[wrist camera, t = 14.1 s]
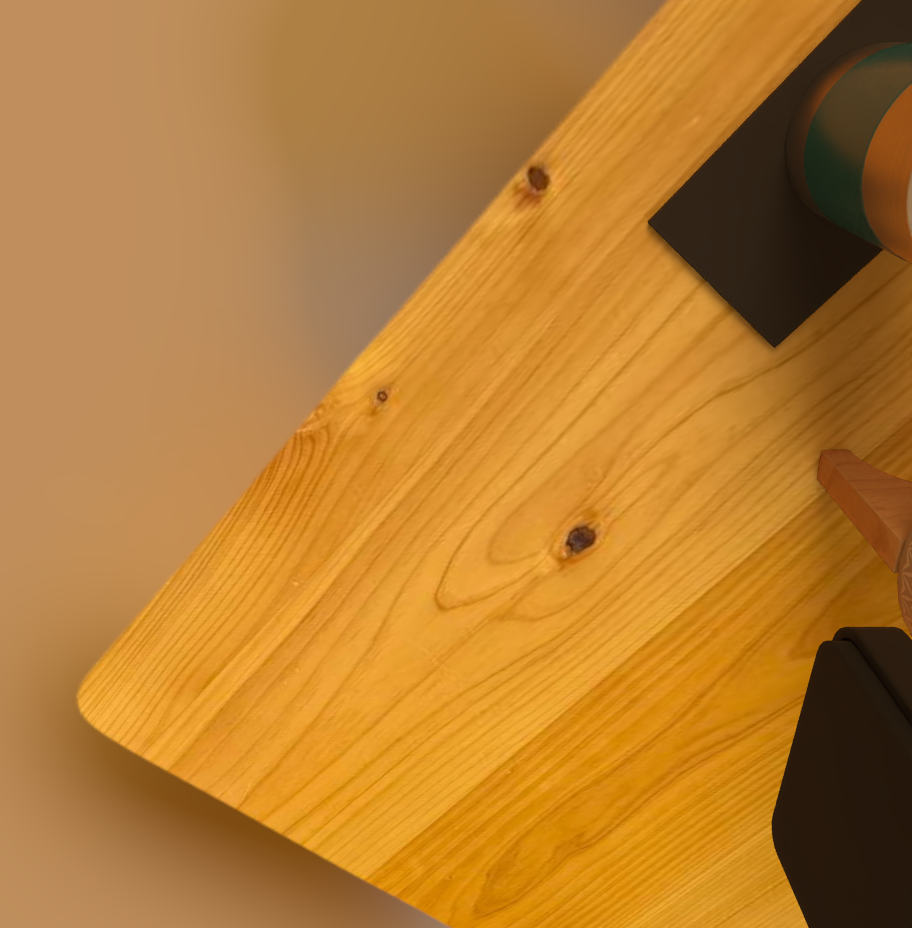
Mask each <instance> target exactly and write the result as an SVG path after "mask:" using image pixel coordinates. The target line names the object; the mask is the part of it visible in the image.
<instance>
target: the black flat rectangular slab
mask: <svg viewBox="0 0 912 928" xmlns="http://www.w3.org/2000/svg"><path fill="white" fill-rule="evenodd" d="M883 42H903V43H912V0H862V1H861V2H860V3H859V4H858V5H857V6H856V7H855V8H854V9H853V10H852V11H851V12H850V13H849V14H848V15H847V16H846V17H845V18H844V19H843V20H842V21H841V22H840V23H839V24H838V25H837V26H836V27H835V28H834V30H833V31H832V32H831V33H830V34H829V35H828V36H827V37H826V38H825V39H824V40H823V41H822V42H821V43H820V44H819V45H818V46H817V47H816V48H815V49H814V50H813V51H812V52H811V53H810V54H809V55H808V56H807V57H806V59H805V60H804V61H803V62H802V63H801V64H800V65H799V66H798V67H797V68H796V69H795V70H794V71H793V72H792V73H791V74H790V75H789V76H788V77H787V78H786V79H785V80H784V81H783V82H782V83H781V84H780V85H779V86H778V88H777V89H776V90H775V91H774V92H773V93H772V94H771V95H770V96H769V97H768V98H767V99H766V100H765V101H764V102H763V103H762V104H761V105H760V106H759V107H758V108H757V109H756V110H755V111H754V112H753V113H752V114H751V115H750V116H749V118H748V119H747V120H746V121H745V122H744V123H743V124H742V125H741V126H740V127H739V128H738V129H737V130H736V131H735V132H734V133H733V134H732V135H731V136H730V137H729V138H728V139H727V140H726V141H725V142H724V143H723V144H722V145H721V147H720V148H719V149H718V150H717V151H716V152H715V153H714V154H713V155H712V156H711V157H710V158H709V159H708V160H707V161H706V162H705V163H704V164H703V165H702V166H701V167H700V168H699V169H698V170H697V171H696V172H695V173H694V174H693V175H692V177H691V178H690V179H689V180H688V181H687V182H686V183H685V184H684V185H683V186H682V187H681V188H680V189H679V190H678V191H677V192H676V193H675V194H674V195H673V196H672V197H671V198H670V199H669V200H668V201H667V202H666V203H665V204H664V206H663V207H662V208H661V209H660V210H659V211H658V212H657V213H656V214H655V215H654V216H653V217H652V218H651V219H650V220H649V221H648V223H649V224H650V225H651V226H652V227H653V228H654V229H655V230H656V231H657V232H658V233H659V234H660V235H661V236H662V237H663V238H664V239H665V240H666V241H667V242H668V243H669V244H670V245H671V246H672V247H673V248H674V249H675V250H676V251H677V252H678V253H679V254H680V255H681V256H682V257H683V258H684V259H685V260H686V261H687V262H688V263H689V264H690V265H691V266H692V267H693V268H694V269H695V270H696V271H697V272H698V273H699V274H700V275H701V276H702V277H703V278H704V279H705V280H706V281H707V282H708V283H709V284H710V285H711V286H712V287H713V288H714V289H715V290H716V291H717V292H718V293H719V294H720V295H721V296H722V297H723V298H724V299H725V300H726V301H727V302H728V303H729V304H730V305H731V306H732V307H733V308H734V309H735V310H736V311H737V312H738V313H739V314H740V315H742V316H743V317H744V318H745V319H746V320H747V321H748V322H749V323H750V324H751V325H752V326H753V327H754V328H755V329H756V330H757V331H758V332H759V333H760V334H761V335H762V336H763V337H764V338H765V339H766V340H767V341H768V342H769V343H770V344H771V345H772V346H773V347H774V348H775V347H776V346H778V345H779V344H780V343H781V342H782V341H783V340H784V339H785V338H786V337H787V336H789V335H790V334H791V333H792V332H793V331H794V330H795V329H796V328H797V327H798V326H800V325H801V324H802V323H803V322H804V321H805V320H806V319H807V318H808V317H809V316H811V315H812V314H813V313H814V312H815V311H816V310H817V309H818V308H819V307H820V306H821V305H823V304H824V303H825V302H826V301H827V300H828V299H829V298H830V297H831V296H832V295H834V294H835V293H836V292H837V291H838V290H839V289H840V288H841V287H842V286H843V285H845V284H846V283H847V282H848V281H849V280H850V279H851V278H852V277H853V276H854V275H856V274H857V273H858V272H859V271H860V270H861V269H862V268H863V267H864V266H865V265H867V264H868V263H869V262H870V261H871V260H872V259H873V258H874V257H875V256H876V255H878V254H879V253H880V252H881V251H882V250H883V249H881V248H880V247H878V246H876V245H874V244H872V243H870V242H868V241H866V240H864V239H862V238H860V237H858V236H856V235H854V234H853V233H851V232H849V231H847V230H845V229H843V228H841V227H839V226H838V225H836V224H835V223H833V222H831V221H829V220H827V219H825V218H823V217H822V216H820V215H818V214H817V213H815V212H813V211H812V210H811V209H810V208H809V207H807V206H806V205H805V204H804V202H803V201H802V200H801V199H800V198H799V196H798V195H797V193H796V191H795V190H794V188H793V186H792V183H791V181H790V178H789V174H788V171H787V165H786V140H787V133H788V130H789V126H790V122H791V119H792V117H793V114H794V111H795V109H796V107H797V105H798V103H799V101H800V99H801V98H802V96H803V95H804V93H805V92H806V90H807V89H808V87H809V86H810V85H811V84H812V82H813V81H814V80H815V79H816V78H817V77H818V76H819V75H820V74H821V73H822V72H823V71H824V70H825V69H826V68H827V67H828V66H830V65H831V64H832V63H834V62H835V61H836V60H838V59H839V58H841V57H843V56H844V55H846V54H848V53H850V52H852V51H854V50H856V49H859V48H862V47H865V46H868V45H871V44H877V43H883Z"/></svg>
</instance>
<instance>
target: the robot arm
mask: <svg viewBox="0 0 912 928" xmlns="http://www.w3.org/2000/svg"><path fill="white" fill-rule="evenodd" d="M772 836H773V842H774V846H775V850H776V852H777V855H778V857H779V860H780V862H781V864H782V867H783V869H784V871H785V874H786V876H787V878H788V881H789V883H790V885H791V888H792V890H793V892H794V895H795V897H796V899H797V901H798V904H799V906H800V908H801V911H802V913H803V915H804V918H805V920H806V922H807V925H808V927H809V928H912V640H911V639H910V637H909V636H908V635H907V634H906V633H905V632H904V631H903V630H901V629H899V628H896V627H844V628H840V629H839V630H838V631H837V632H836V633H835V635H834V638H833V640H832V641H825V642H823V643H822V644H821V645H820V646H819V649H818V651H817V654H816V658H815V662H814V665H813V669H812V673H811V676H810V680H809V684H808V687H807V691H806V695H805V698H804V702H803V706H802V709H801V713H800V717H799V720H798V724H797V728H796V732H795V735H794V739H793V743H792V746H791V750H790V754H789V757H788V761H787V765H786V768H785V772H784V776H783V779H782V783H781V787H780V791H779V794H778V798H777V802H776V805H775V809H774V813H773V817H772Z"/></svg>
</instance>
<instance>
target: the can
mask: <svg viewBox="0 0 912 928" xmlns="http://www.w3.org/2000/svg"><path fill="white" fill-rule="evenodd" d="M786 165H787V171H788V174H789V178H790V181H791V183H792V186H793V188H794V190H795V191H796V193H797V195H798V196H799V198H800V199H801V200H802V201H803V202H804V204H805V205H806V206H807V207H809V208H810V209H811V210H812V211H813V212H815V213H817V214H818V215H820V216H822V217H823V218H825V219H827V220H829V221H831V222H833V223H835V224H836V225H838V226H839V227H841V228H843V229H845V230H847V231H849V232H851V233H853V234H854V235H856V236H858V237H860V238H862V239H864V240H866V241H868V242H870V243H872V244H874V245H876V246H878V247H880V248H881V249H883V250H885V251H887V252H889V253H891V254H893V255H895V256H897V257H899V258H901V259H903V260H905V261H908V262H910V263H912V43H903V42H883V43H877V44H871V45H868V46H865V47H862V48H859V49H856V50H854V51H852V52H850V53H848V54H846V55H844V56H843V57H841V58H839V59H838V60H836V61H835V62H834V63H832V64H831V65H830V66H828V67H827V68H826V69H825V70H824V71H823V72H822V73H821V74H820V75H819V76H818V77H817V78H816V79H815V80H814V81H813V82H812V84H811V85H810V86H809V87H808V89H807V90H806V92H805V93H804V95H803V96H802V98H801V99H800V101H799V103H798V105H797V107H796V109H795V111H794V114H793V117H792V119H791V122H790V126H789V130H788V133H787V140H786Z"/></svg>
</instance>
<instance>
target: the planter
mask: <svg viewBox="0 0 912 928" xmlns="http://www.w3.org/2000/svg"><path fill="white" fill-rule="evenodd" d="M817 480H818V481H819V482H820V484H821V485H822V486H823V487H824V488H825V490H826V491H827V492H828V493H829V495H830V496H831V497H832V498H833V499H834V501H835V502H836V503H837V504H838V505H839V507H840V508H841V509H842V510H843V512H844V513H845V514H846V515H847V516H848V518H849V519H850V520H851V521H852V523H853V524H854V525H855V526H856V527H857V529H858V530H859V531H860V532H861V534H862V535H863V536H864V537H865V538H866V540H867V541H868V542H869V543H870V544H871V546H872V547H873V548H874V549H875V551H876V552H877V553H878V554H879V555H880V557H881V558H882V559H883V560H884V562H885V563H886V564H887V565H888V566H889V568H890V569H891V570H892V571H893V572H894V573H898V580H897V584H898V601H899V605H900V608H901V612H902V616H903V620H904V622H905V624H906V626H907V628H908V630H909V632H910V634H911V636H912V482H909V481H905V480H902V479H900V478H897V477H894V476H892V475H889V474H887V473H884V472H882V471H880V470H878V469H876V468H874V467H872V466H870V465H868V464H867V463H865V462H863V461H862V460H860V459H859V458H857V457H856V456H855V455H854V454H852V453H851V452H850V451H849V450H832V451H822V452H821V457H820V464H819V470H818V476H817Z"/></svg>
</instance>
